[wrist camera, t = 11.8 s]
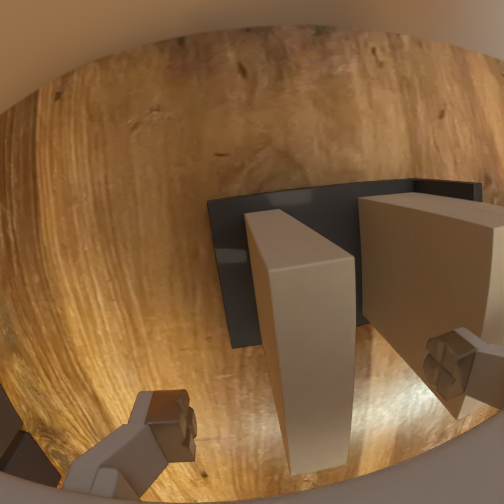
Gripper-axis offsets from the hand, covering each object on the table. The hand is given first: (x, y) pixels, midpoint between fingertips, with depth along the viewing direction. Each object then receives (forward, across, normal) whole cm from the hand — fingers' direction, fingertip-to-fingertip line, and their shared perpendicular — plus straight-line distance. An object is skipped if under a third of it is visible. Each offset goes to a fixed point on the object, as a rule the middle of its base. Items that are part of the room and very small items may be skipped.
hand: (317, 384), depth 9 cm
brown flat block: (+13, 0, +1) cm, 13 cm away
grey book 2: (+14, +32, +22) cm, 41 cm away
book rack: (+14, -5, 0) cm, 15 cm away
